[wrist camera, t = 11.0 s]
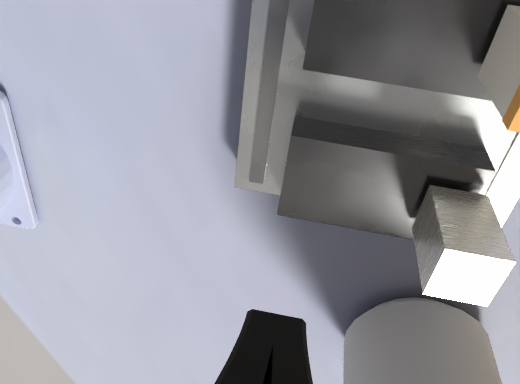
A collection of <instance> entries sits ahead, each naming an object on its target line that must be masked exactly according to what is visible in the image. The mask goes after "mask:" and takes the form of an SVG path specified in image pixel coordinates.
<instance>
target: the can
mask: <svg viewBox="0 0 520 384" xmlns="http://www.w3.org/2000/svg"><path fill="white" fill-rule="evenodd" d="M344 384H502V382H501V379H500V375H499V372H498V368H497V365H496V361H495V358H494V354H493V351H492V347H491V344H490V340H489V337H488V334H487V333H486V331H485V330H484V328H483V327H482V325H481V324H480V323H479V321H478V320H476V319H475V318H473V317H472V316H470V315H469V314H467V313H466V312H464V311H463V310H460V309H457V308H454V307H451V306H449V305H448V304H445V303H442V302H439V301H436V300H433V299H425V298H416V297H411V298H401V299H394V300H391V301H387V302H384V303H381V304H379V305H377V306H376V307H374V308H372V309H370V310H368V311H367V312H365V313H364V314H362V315H361V316H359V317H358V318H356V319H355V320H354V321H353V323H352V324H351V325H350V327H349V328H348V329H347V331H346V334H345V341H344Z"/></svg>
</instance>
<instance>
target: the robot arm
mask: <svg viewBox="0 0 520 384" xmlns="http://www.w3.org/2000/svg"><path fill="white" fill-rule="evenodd" d="M37 223H38V218H37V214H36V210H35V206H34V202H33V198H32V194H31V190H30V186H29V182H28V178H27V174H26V170H25V166H24V162H23V158H22V154H21V150H20V146H19V142H18V138H17V134H16V130H15V126H14V122H13V118H12V114H11V110H10V106H9V102H8V99H7V97H6V96H5V94H4V93H3V92H1V91H0V224H4V225H9V226H14V227H19V228H24V229H33V228H34V227H35V226H36V225H37ZM215 384H313V382H312V376H311V370H310V364H309V357H308V349H307V339H306V323H305V322H304V320H303V319H299V318H294V317H289V316H284V315H279V314H274V313H269V312H264V311H259V310H254V309H252V310H250V311H248V312H247V315H246V318H245V322H244V324H243V327H242V330H241V332H240V335H239V337H238V339H237V341H236V344H235V346H234V348H233V350H232V352H231V354H230V356H229V358H228V360H227V362H226V364H225V366H224V368H223V369H222V371H221V373H220V375H219V377H218V378H217V380H216V382H215Z"/></svg>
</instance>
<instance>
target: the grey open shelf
mask: <svg viewBox="0 0 520 384" xmlns="http://www.w3.org/2000/svg"><path fill="white" fill-rule="evenodd" d="M507 5H514V6H520V0H252V6H251V16H250V27H249V38H248V48H247V59H246V69H245V80H244V91H243V101H242V112H241V123H240V133H239V144H238V155H237V165H236V176H235V186H234V187H236V188H241V189H247V190H252V191H258V192H263V193H269V194H274V195H280V201H279V207H278V212H277V215H282V216H288V217H293V218H298V219H304V220H309V221H315V222H320V223H325V224H331V225H336V226H342V227H347V228H352V229H358V230H363V231H369V232H374V233H379V234H385V235H390V236H396V237H401V238H407V239H412V240H414V244H415V250H416V256H417V262H418V268H419V274H420V280H421V286H422V292H423V294H424V295H429V296H434V297H440V298H445V299H450V300H455V301H461V302H466V303H471V304H476V305H481V306H488V304H489V303H490V301H491V300H492V298H493V296H494V295H495V293H496V292H497V290H498V289H499V287H500V286H501V284H502V283H503V281H504V280H505V278H506V276H507V275H508V273H509V272H510V270H511V269H512V267H513V266H514V264H515V263H516V262H515V259H514V257H513V254H512V252H511V249H510V247H509V245H508V242H507V240H506V237H505V235H504V232H503V230H502V226H503V224H504V222H505V220H506V219H507V217H508V215H509V214H510V212H511V210H512V208H513V207H514V205H515V203H516V201H517V200H518V198H519V196H520V133H519V132H513V131H508V130H507V129H506V127H505V125H504V123H503V122H502V117H501V116H500V114H499V112H498V110H497V109H496V107H495V105H494V103H493V102H492V100H491V98H490V96H489V95H488V93H487V91H486V89H485V88H484V86H483V84H482V82H481V81H480V79H479V77H478V74H479V72H480V69H481V67H482V64H483V62H484V60H485V57H486V55H487V53H488V50H489V48H490V46H491V43H492V41H493V38H494V36H495V34H496V31H497V29H498V27H499V24H500V22H501V20H502V17H503V15H504V13H505V10H506V8H507Z"/></svg>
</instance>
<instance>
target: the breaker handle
mask: <svg viewBox="0 0 520 384" xmlns="http://www.w3.org/2000/svg"><path fill="white" fill-rule="evenodd" d="M478 77H479V79H480V81H481V82H482V84H483V86H484V88H485V89H486V91H487V93H488V95H489V96H490V98H491V100H492V102H493V103H494V105H495V107H496V109H497V110H498V112H499V114H500V116H501V117H502V122H503V123H504V125H505V127H506V129H507V130H508V131H513V132H519V133H520V6H514V5H507V8H506V10H505V13H504V15H503V17H502V20H501V22H500V24H499V27H498V29H497V31H496V34H495V36H494V38H493V41H492V43H491V46H490V48H489V50H488V53H487V55H486V57H485V60H484V62H483V64H482V67H481V69H480V72H479V74H478Z"/></svg>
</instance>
